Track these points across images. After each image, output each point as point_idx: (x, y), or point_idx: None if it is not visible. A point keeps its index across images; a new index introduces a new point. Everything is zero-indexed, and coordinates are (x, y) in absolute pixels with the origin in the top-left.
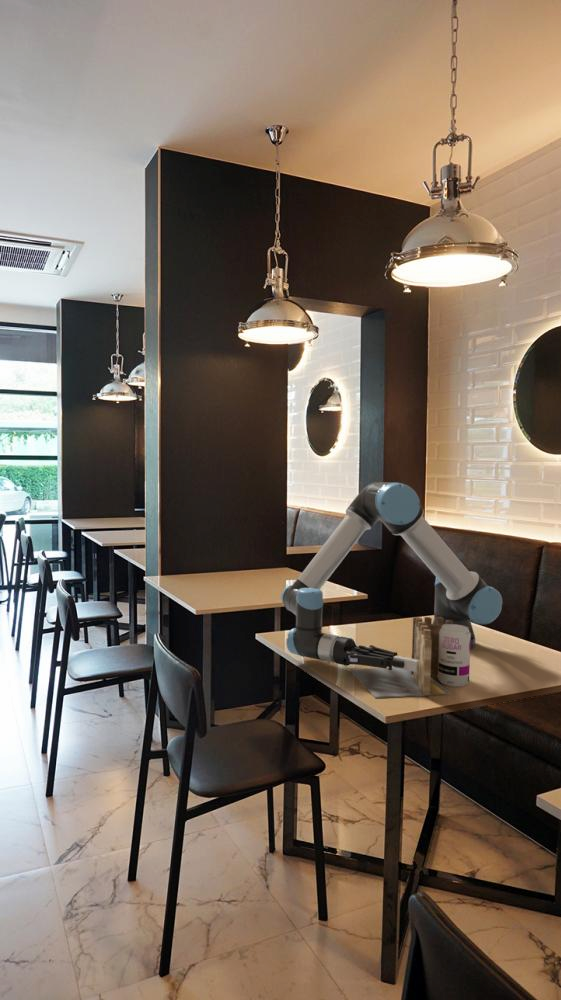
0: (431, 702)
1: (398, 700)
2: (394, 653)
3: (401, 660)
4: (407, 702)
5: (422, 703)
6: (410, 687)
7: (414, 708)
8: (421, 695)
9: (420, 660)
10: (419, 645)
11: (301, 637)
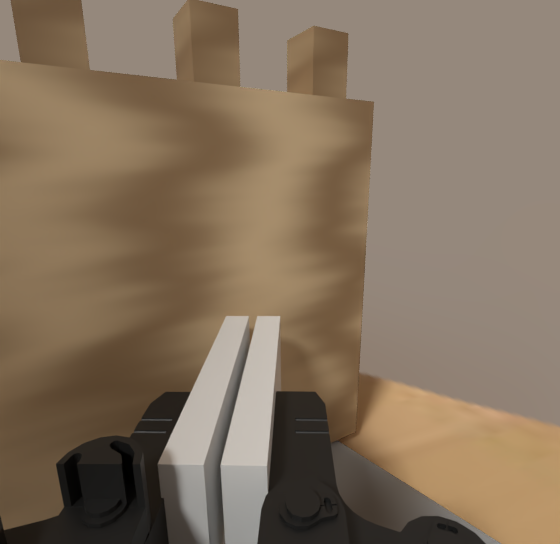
0: (386, 405)
1: (539, 527)
2: (143, 463)
3: (274, 405)
4: (502, 475)
5: (434, 424)
6: None
7: (526, 429)
8: (346, 450)
9: (240, 308)
10: (170, 212)
11: None
